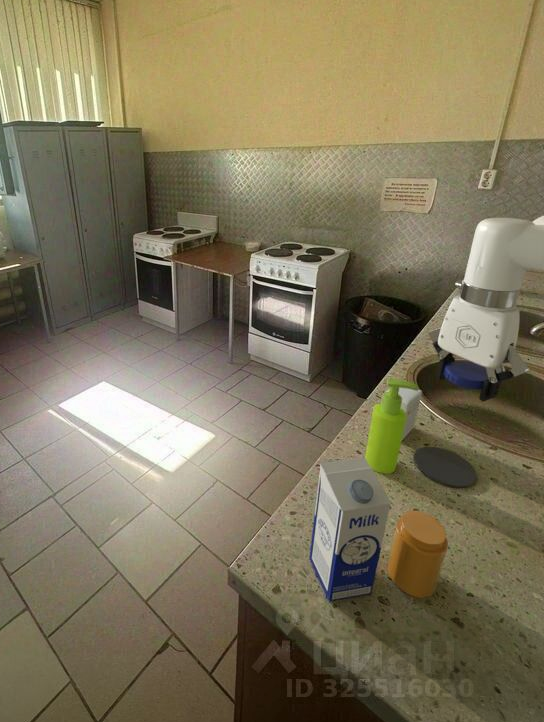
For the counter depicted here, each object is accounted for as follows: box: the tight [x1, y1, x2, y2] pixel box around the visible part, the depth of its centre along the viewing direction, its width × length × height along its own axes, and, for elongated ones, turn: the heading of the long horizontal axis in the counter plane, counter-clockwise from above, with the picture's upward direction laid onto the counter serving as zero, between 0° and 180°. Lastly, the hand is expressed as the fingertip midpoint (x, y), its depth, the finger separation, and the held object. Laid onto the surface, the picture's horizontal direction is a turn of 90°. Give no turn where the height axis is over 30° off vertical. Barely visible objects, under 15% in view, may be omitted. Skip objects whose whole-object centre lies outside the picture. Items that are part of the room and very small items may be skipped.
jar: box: [386, 510, 449, 599], centre depth 59 cm, size 7×7×10 cm
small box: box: [380, 388, 423, 442], centre depth 91 cm, size 8×6×10 cm
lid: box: [444, 360, 488, 390], centre depth 70 cm, size 7×7×2 cm
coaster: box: [412, 446, 477, 489], centre depth 81 cm, size 11×11×1 cm
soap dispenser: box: [364, 378, 420, 475], centre depth 79 cm, size 6×7×20 cm
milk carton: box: [309, 456, 392, 602], centre depth 58 cm, size 7×7×20 cm
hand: (464, 387), depth 71 cm, fingers closed on lid, 6 cm apart
